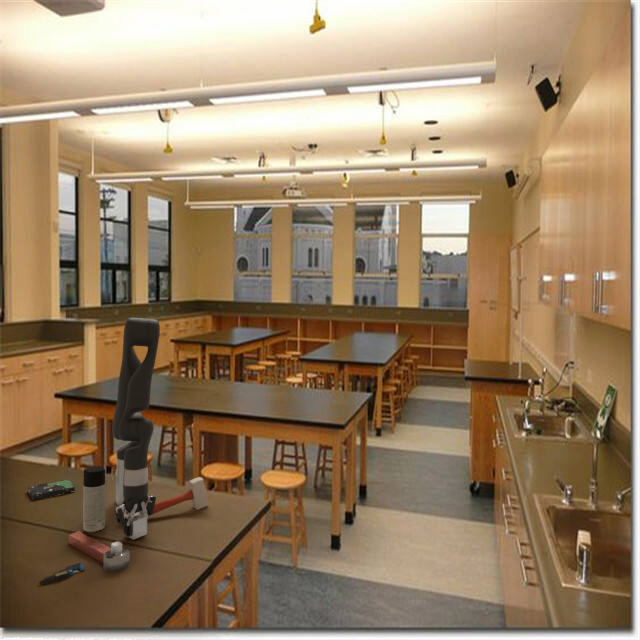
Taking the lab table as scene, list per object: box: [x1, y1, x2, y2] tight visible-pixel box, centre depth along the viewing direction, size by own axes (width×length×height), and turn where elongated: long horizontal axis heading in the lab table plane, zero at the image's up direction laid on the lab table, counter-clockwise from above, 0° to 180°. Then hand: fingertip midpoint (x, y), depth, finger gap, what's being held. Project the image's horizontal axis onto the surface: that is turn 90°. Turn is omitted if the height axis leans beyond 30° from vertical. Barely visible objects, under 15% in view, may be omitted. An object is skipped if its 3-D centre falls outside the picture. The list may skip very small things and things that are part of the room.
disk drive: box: [27, 479, 76, 501], centre depth 208 cm, size 10×3×15 cm
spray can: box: [82, 465, 106, 533], centre depth 177 cm, size 7×7×20 cm
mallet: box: [123, 476, 209, 515], centre depth 189 cm, size 11×4×30 cm
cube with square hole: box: [128, 512, 148, 541], centre depth 172 cm, size 5×5×6 cm
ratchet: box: [68, 530, 131, 573], centre depth 160 cm, size 27×7×6 cm, turn 53°
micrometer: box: [39, 563, 85, 585], centre depth 148 cm, size 12×2×5 cm
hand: (135, 532), depth 172 cm, fingers closed on cube with square hole, 5 cm apart
